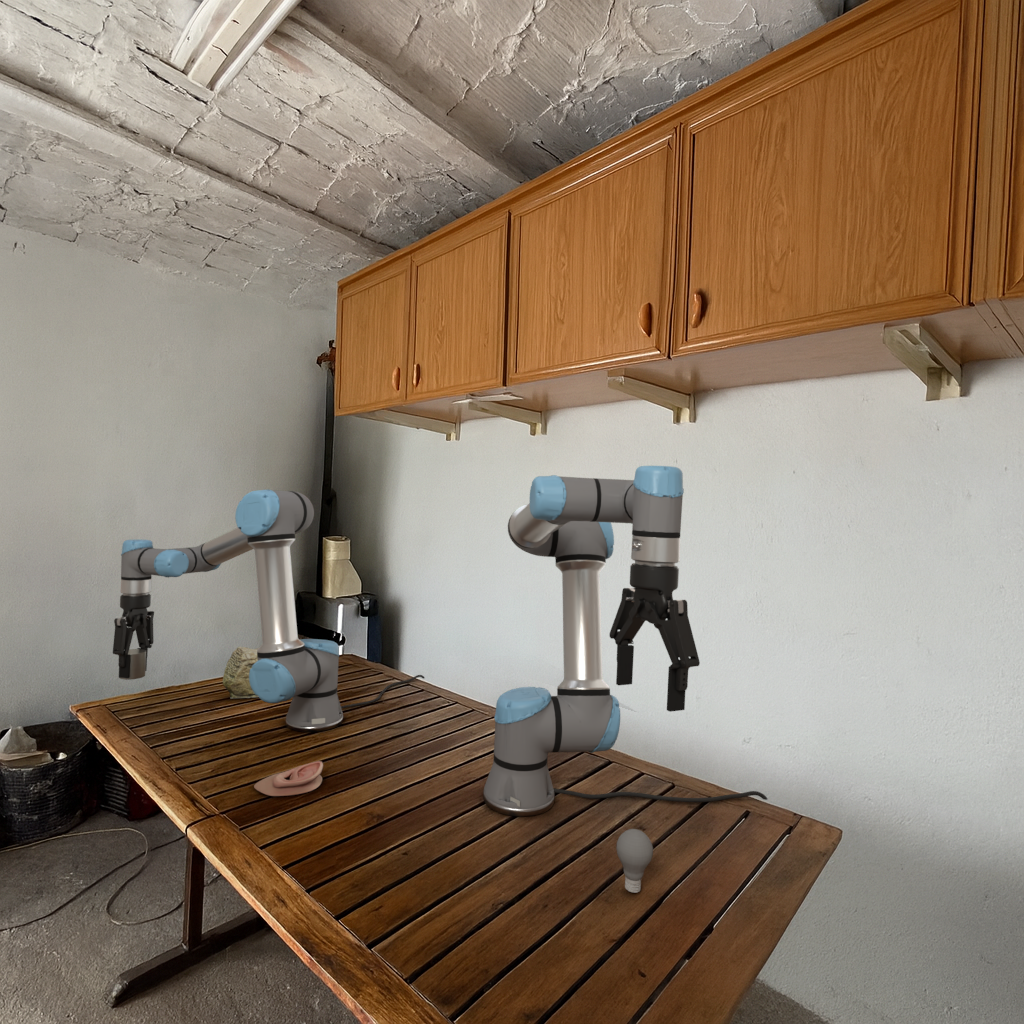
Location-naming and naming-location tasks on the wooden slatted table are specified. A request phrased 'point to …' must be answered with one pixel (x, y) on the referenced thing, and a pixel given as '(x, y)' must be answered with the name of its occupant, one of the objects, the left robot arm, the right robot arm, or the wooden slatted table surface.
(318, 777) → the anatomical model
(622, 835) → the light bulb
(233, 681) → the fossil
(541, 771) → the right robot arm
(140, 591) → the left robot arm
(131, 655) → the can
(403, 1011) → the wooden slatted table surface
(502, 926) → the wooden slatted table surface
